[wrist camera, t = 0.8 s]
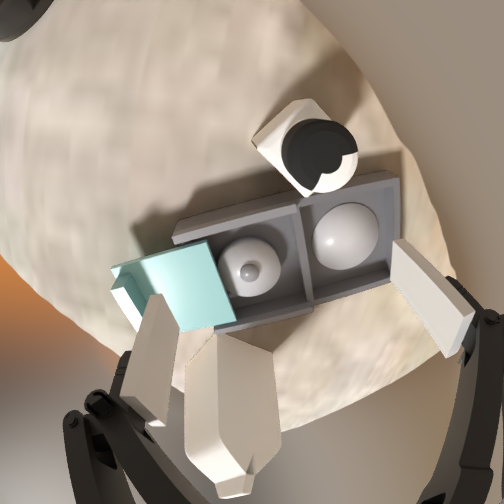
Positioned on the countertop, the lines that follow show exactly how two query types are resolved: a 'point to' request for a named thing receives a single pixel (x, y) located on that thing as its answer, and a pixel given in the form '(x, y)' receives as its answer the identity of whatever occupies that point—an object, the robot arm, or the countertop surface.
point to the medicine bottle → (308, 148)
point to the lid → (175, 286)
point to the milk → (231, 413)
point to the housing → (300, 247)
